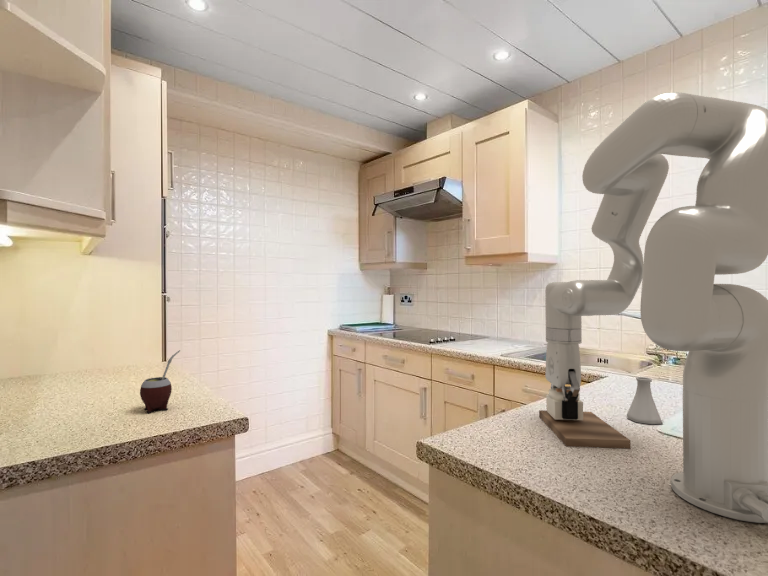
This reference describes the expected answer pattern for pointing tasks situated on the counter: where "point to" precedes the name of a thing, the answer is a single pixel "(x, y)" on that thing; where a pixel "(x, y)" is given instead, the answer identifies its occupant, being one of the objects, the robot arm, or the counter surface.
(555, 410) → the knob
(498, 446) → the counter surface
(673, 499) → the counter surface
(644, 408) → the flask
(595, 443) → the hub board
